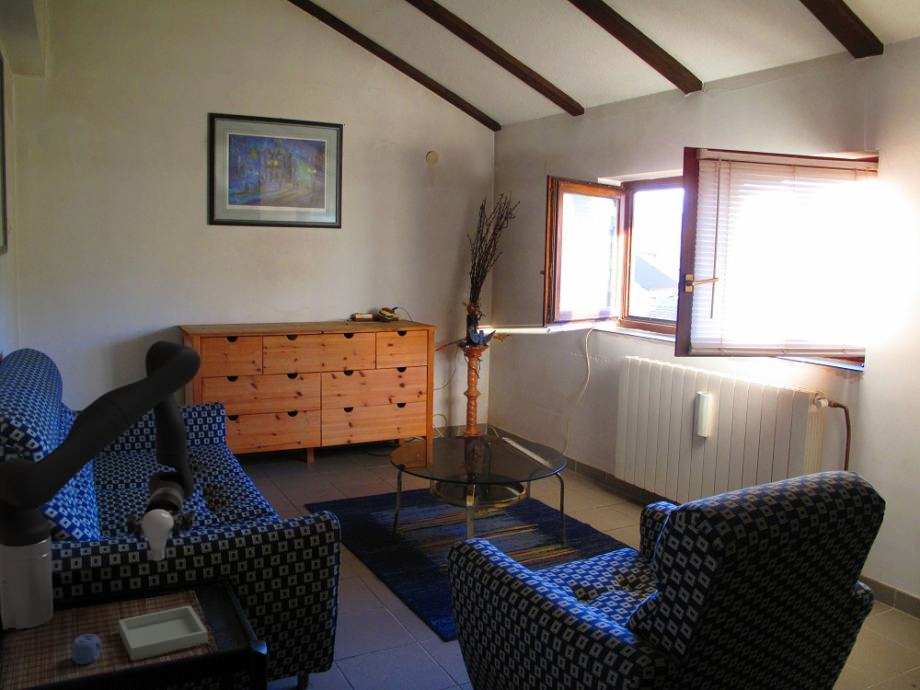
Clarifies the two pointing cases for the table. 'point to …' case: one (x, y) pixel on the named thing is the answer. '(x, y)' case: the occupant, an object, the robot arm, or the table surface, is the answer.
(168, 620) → the parts tray
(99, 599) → the table surface
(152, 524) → the lightbulb
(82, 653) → the decorative dice
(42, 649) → the table surface
